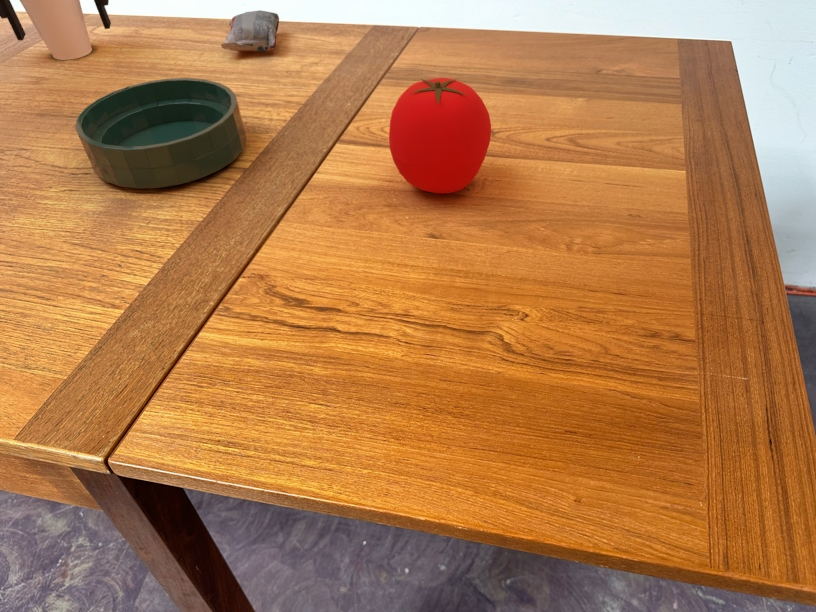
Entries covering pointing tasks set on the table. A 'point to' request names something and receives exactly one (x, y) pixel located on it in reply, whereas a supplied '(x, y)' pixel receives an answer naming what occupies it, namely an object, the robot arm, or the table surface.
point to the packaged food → (252, 31)
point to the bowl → (162, 132)
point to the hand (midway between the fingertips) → (65, 31)
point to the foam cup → (60, 26)
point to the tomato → (439, 135)
